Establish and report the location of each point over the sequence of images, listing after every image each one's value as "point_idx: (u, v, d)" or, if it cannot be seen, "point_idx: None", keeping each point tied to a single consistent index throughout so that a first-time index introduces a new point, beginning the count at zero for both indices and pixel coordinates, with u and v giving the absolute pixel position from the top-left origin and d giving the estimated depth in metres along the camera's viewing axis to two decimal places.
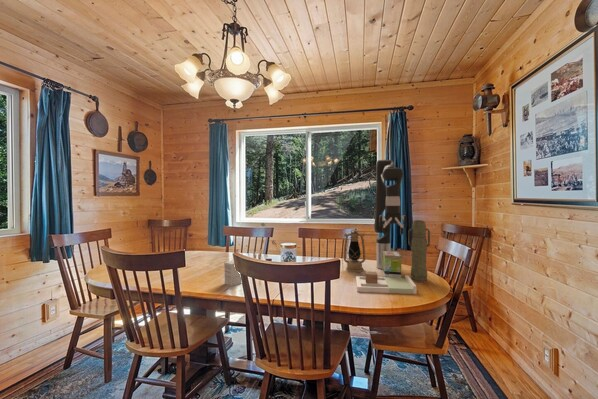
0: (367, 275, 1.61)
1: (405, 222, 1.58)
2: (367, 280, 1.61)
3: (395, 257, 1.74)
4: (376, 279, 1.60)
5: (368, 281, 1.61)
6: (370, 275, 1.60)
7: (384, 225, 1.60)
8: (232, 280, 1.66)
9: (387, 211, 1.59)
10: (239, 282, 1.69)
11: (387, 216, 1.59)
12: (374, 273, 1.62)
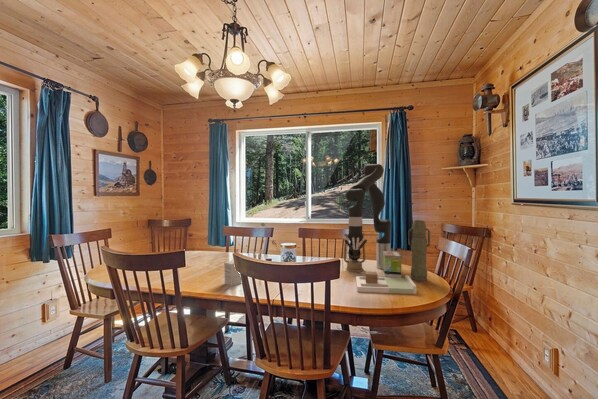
0: (367, 275, 1.61)
1: (362, 245, 1.63)
2: (367, 280, 1.61)
3: (395, 257, 1.74)
4: (376, 279, 1.60)
5: (368, 281, 1.61)
6: (370, 275, 1.60)
7: (353, 247, 1.63)
8: (232, 280, 1.66)
9: (349, 231, 1.63)
10: (239, 282, 1.69)
11: (349, 236, 1.64)
12: (374, 273, 1.62)
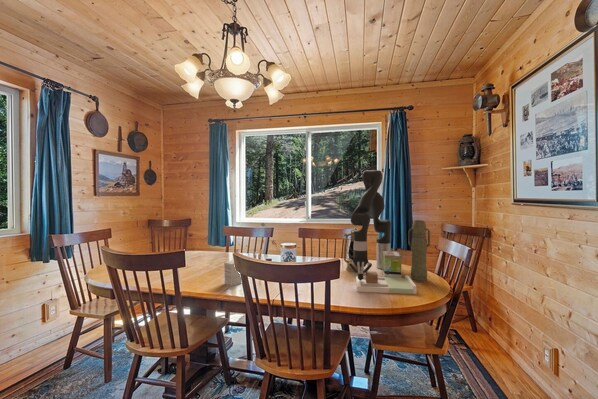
0: (367, 275, 1.61)
1: (367, 269, 1.63)
2: (368, 280, 1.61)
3: (395, 257, 1.74)
4: (376, 279, 1.60)
5: (368, 281, 1.61)
6: (370, 275, 1.60)
7: (358, 271, 1.63)
8: (232, 280, 1.66)
9: (354, 255, 1.63)
10: (239, 282, 1.69)
11: (354, 260, 1.64)
12: (374, 273, 1.62)
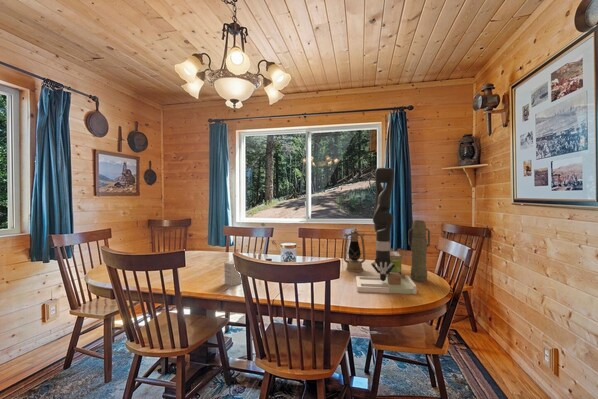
0: (390, 276, 1.58)
1: (390, 269, 1.60)
2: (390, 282, 1.58)
3: (395, 257, 1.74)
4: (399, 280, 1.57)
5: (391, 282, 1.58)
6: (393, 276, 1.58)
7: (380, 272, 1.61)
8: (232, 280, 1.66)
9: (377, 256, 1.61)
10: (239, 282, 1.69)
11: (377, 260, 1.62)
12: (396, 274, 1.60)
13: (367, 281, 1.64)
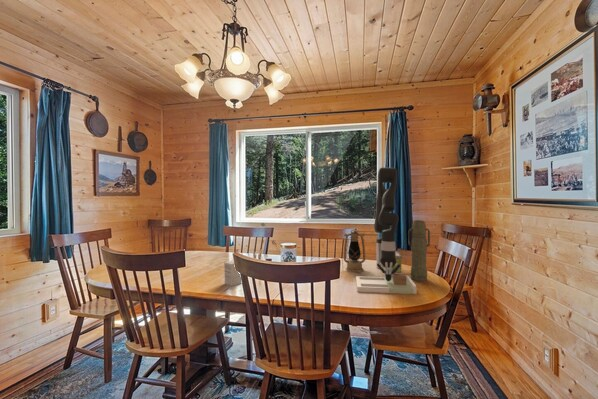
0: (395, 276, 1.58)
1: (395, 269, 1.60)
2: (396, 282, 1.58)
3: None
4: (405, 281, 1.57)
5: (396, 282, 1.58)
6: (399, 276, 1.57)
7: (386, 272, 1.61)
8: (232, 280, 1.66)
9: (382, 256, 1.60)
10: (239, 282, 1.69)
11: (382, 260, 1.61)
12: (402, 274, 1.59)
13: (367, 281, 1.64)
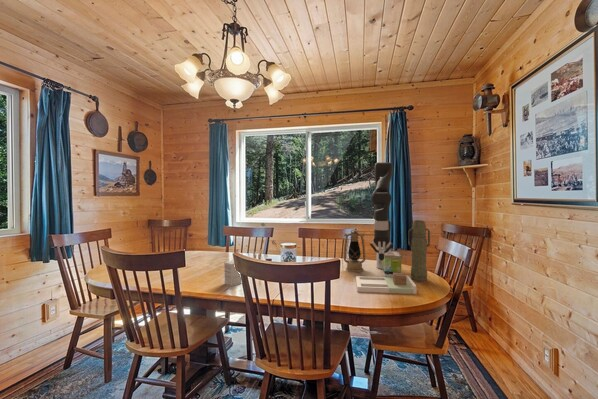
0: (395, 276, 1.58)
1: (388, 249, 1.61)
2: (396, 282, 1.58)
3: (395, 257, 1.74)
4: (405, 281, 1.57)
5: (396, 282, 1.58)
6: (399, 276, 1.57)
7: (379, 251, 1.61)
8: (232, 280, 1.66)
9: (375, 235, 1.61)
10: (239, 282, 1.69)
11: (375, 240, 1.62)
12: (402, 274, 1.59)
13: (367, 281, 1.64)
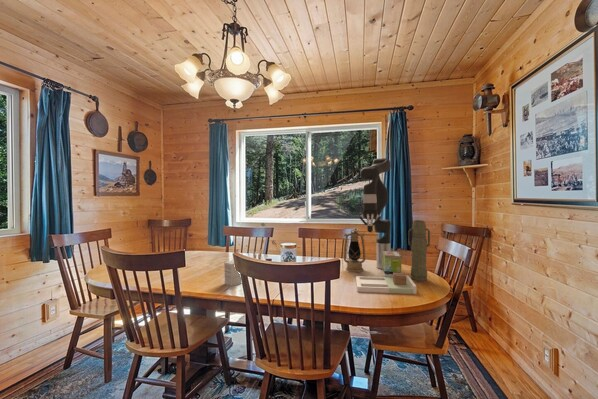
0: (395, 276, 1.58)
1: (376, 221, 1.69)
2: (396, 282, 1.58)
3: (395, 257, 1.74)
4: (405, 281, 1.57)
5: (396, 282, 1.58)
6: (399, 276, 1.57)
7: (368, 223, 1.70)
8: (232, 280, 1.66)
9: (364, 208, 1.69)
10: (239, 282, 1.69)
11: (364, 213, 1.70)
12: (402, 274, 1.59)
13: (367, 281, 1.64)
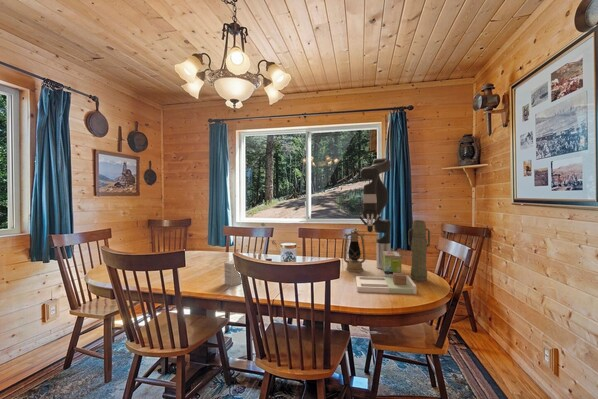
0: (395, 276, 1.58)
1: (376, 221, 1.69)
2: (396, 282, 1.58)
3: (395, 257, 1.74)
4: (405, 281, 1.57)
5: (396, 282, 1.58)
6: (399, 276, 1.57)
7: (368, 223, 1.70)
8: (232, 280, 1.66)
9: (364, 208, 1.69)
10: (239, 282, 1.69)
11: (364, 213, 1.70)
12: (402, 274, 1.59)
13: (367, 281, 1.64)
